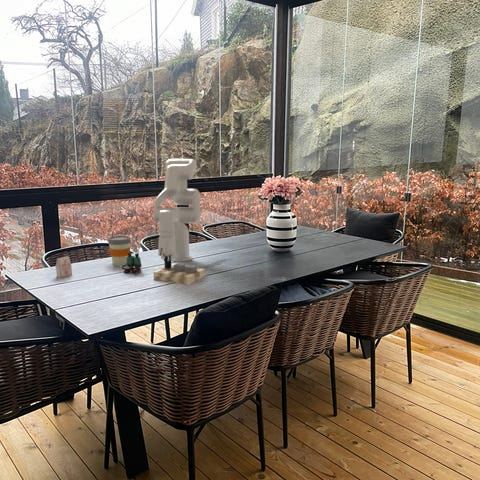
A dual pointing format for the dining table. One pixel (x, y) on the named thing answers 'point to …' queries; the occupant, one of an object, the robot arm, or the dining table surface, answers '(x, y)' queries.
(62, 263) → the tea bag
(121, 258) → the reusable coffee cup
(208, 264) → the dining table surface
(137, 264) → the green tank cart
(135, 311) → the dining table surface
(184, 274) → the switch unit
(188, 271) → the button
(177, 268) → the button
